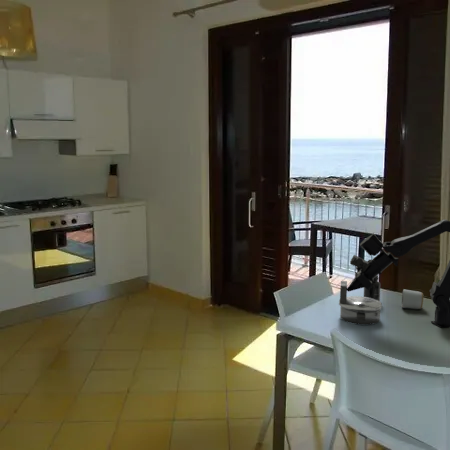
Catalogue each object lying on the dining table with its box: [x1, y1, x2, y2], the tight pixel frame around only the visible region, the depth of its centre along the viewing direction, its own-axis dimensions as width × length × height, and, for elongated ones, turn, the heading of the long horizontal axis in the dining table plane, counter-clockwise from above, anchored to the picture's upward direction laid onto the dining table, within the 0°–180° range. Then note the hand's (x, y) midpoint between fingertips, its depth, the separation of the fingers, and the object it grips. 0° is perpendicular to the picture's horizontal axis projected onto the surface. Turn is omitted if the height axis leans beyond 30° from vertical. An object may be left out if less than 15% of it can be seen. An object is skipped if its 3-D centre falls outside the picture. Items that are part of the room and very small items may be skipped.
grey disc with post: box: [338, 280, 383, 312], centre depth 199 cm, size 16×16×8 cm
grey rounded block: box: [401, 288, 424, 310], centre depth 215 cm, size 11×8×8 cm
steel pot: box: [339, 306, 381, 326], centre depth 200 cm, size 15×25×5 cm, turn 167°
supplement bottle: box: [363, 274, 381, 302], centre depth 220 cm, size 7×7×12 cm
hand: (347, 290), depth 200 cm, fingers closed, pressing on grey disc with post
